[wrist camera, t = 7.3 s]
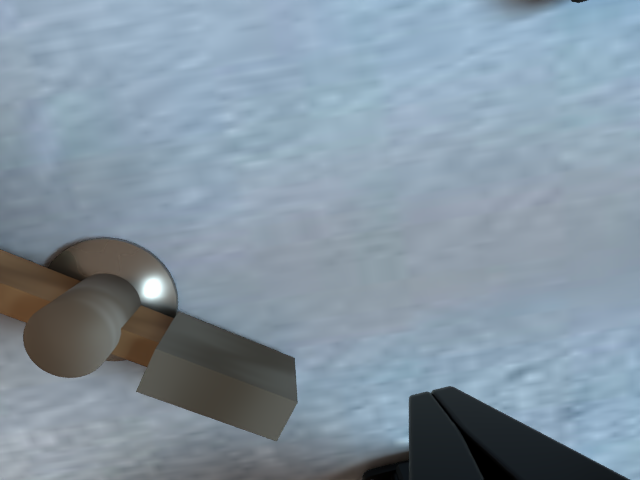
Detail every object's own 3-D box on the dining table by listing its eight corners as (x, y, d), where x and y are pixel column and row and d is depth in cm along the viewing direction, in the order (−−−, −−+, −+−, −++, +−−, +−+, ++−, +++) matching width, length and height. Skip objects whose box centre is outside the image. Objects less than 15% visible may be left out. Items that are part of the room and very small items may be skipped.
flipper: (299, 349, 20) (303, 404, 15) (272, 399, 20) (270, 465, 16) (-197, 148, 16) (-371, 149, 11) (-214, 216, 16) (-388, 241, 12)
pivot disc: (193, 341, 20) (191, 345, 19) (70, 369, 19) (67, 373, 19) (156, 225, 18) (154, 226, 18) (23, 253, 18) (19, 255, 18)
